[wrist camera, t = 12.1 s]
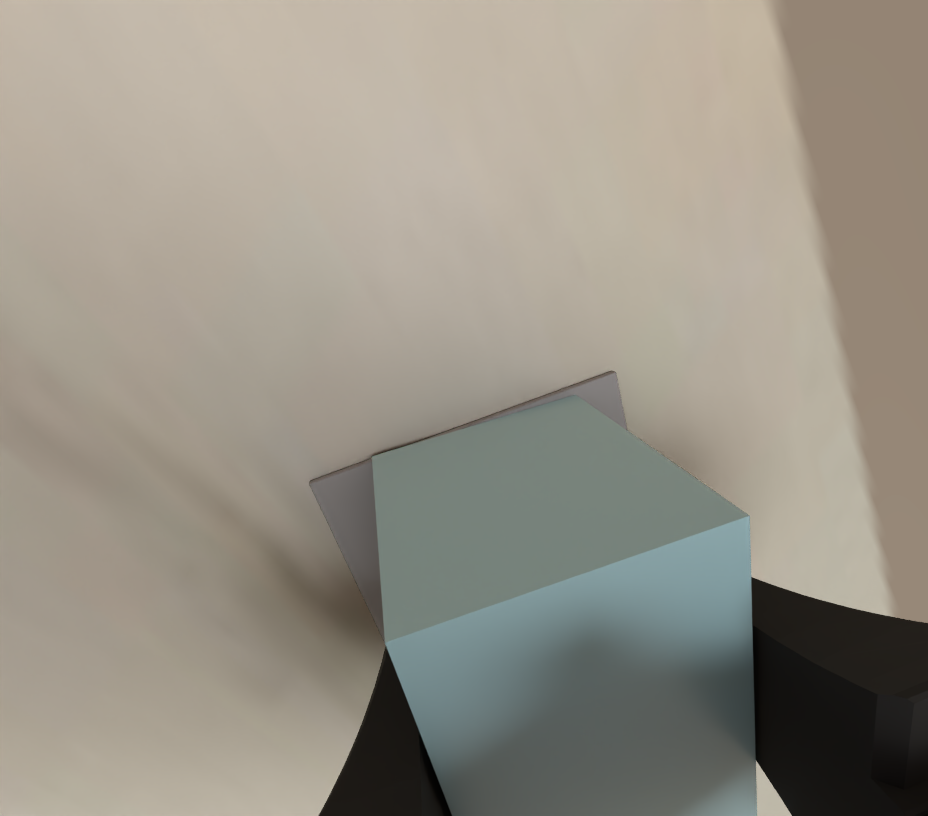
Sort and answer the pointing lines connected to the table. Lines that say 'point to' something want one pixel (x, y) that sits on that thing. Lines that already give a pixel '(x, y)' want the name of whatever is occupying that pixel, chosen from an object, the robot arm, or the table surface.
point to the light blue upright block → (569, 619)
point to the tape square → (353, 497)
